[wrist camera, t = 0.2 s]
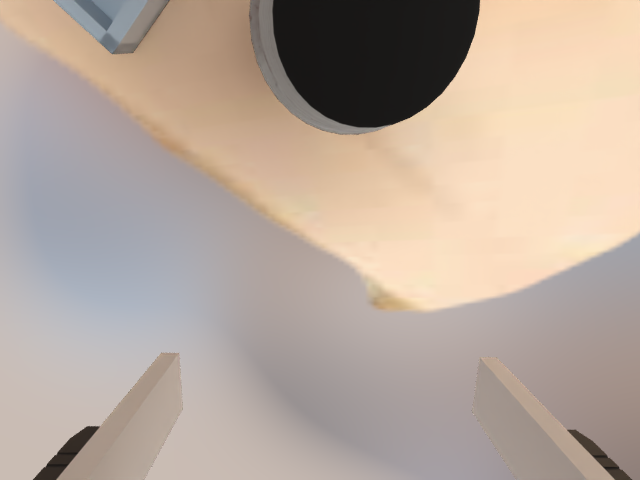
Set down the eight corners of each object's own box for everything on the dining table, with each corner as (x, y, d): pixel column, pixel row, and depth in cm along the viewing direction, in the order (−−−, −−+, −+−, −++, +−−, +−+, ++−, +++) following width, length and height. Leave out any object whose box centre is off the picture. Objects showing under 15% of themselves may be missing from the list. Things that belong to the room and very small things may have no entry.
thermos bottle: (373, -22, 30) (622, -294, 6) (374, 77, 34) (519, 170, 10) (283, -12, 30) (150, -229, 6) (295, 85, 34) (244, 195, 10)
